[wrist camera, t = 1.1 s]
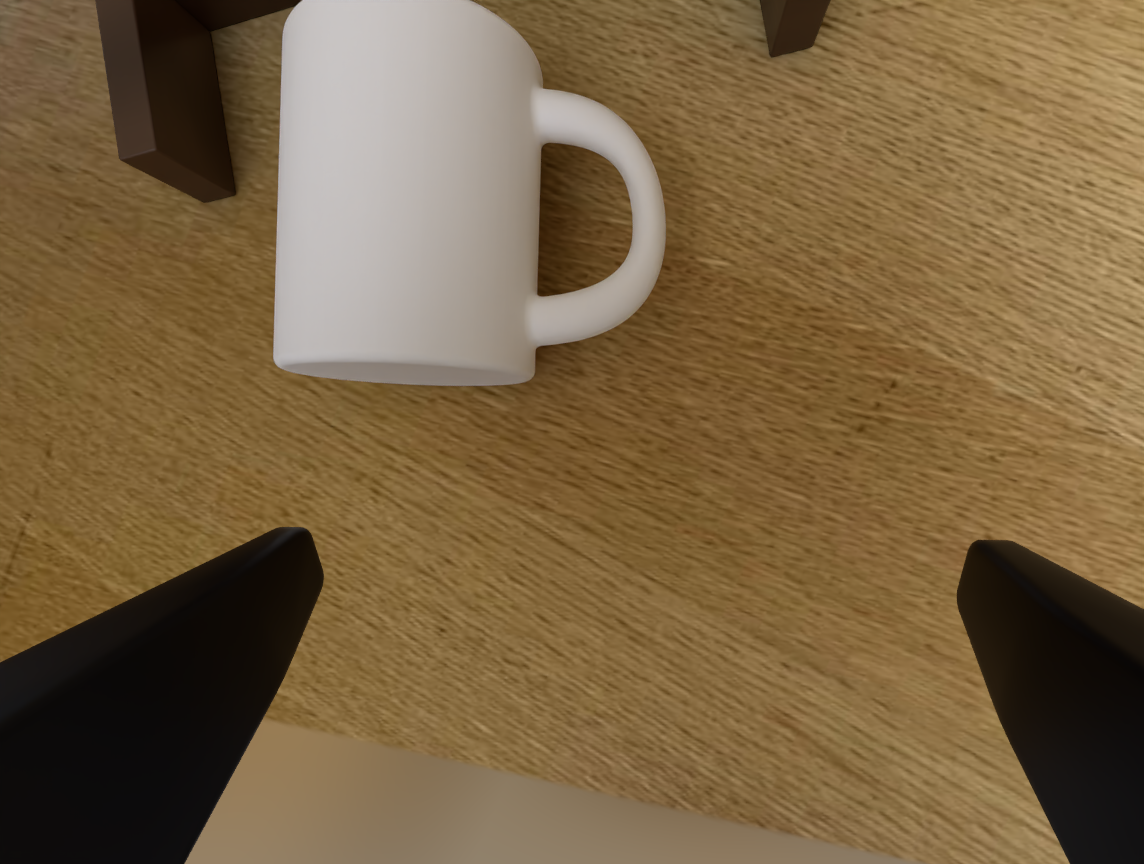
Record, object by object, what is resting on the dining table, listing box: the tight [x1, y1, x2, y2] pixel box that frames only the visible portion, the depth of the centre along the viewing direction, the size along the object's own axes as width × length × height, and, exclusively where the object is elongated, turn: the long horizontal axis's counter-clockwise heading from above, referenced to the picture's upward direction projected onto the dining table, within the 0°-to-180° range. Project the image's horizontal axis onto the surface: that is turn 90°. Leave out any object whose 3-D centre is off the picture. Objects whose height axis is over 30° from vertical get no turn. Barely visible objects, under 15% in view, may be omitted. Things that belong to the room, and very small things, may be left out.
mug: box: [273, 0, 666, 386], centre depth 19 cm, size 12×10×8 cm
